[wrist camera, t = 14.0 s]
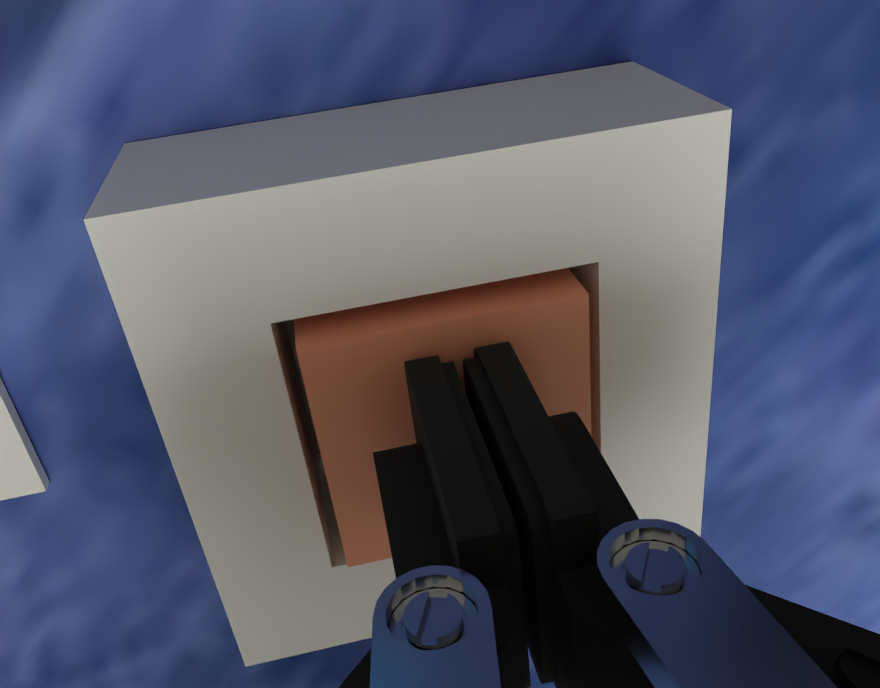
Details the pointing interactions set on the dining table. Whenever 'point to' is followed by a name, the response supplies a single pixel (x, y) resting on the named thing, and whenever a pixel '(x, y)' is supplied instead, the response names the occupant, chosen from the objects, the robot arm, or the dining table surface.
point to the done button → (453, 339)
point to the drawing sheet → (17, 455)
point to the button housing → (402, 276)
